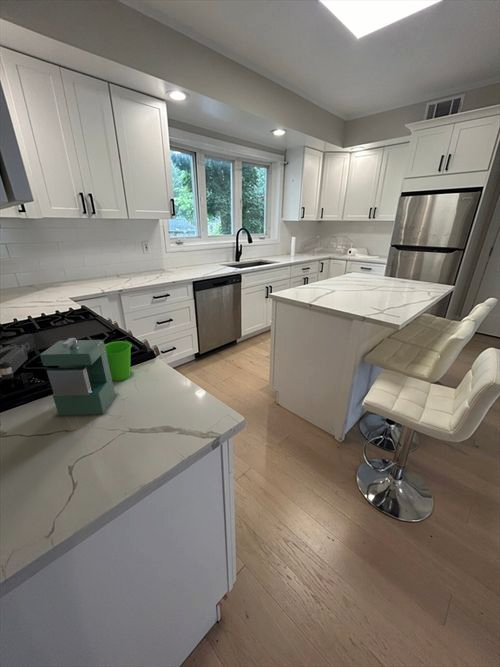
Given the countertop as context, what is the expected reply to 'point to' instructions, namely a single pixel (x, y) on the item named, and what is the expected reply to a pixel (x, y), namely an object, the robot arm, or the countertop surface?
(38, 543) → the countertop surface
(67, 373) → the plate
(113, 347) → the cup
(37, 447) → the countertop surface
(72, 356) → the dispenser
